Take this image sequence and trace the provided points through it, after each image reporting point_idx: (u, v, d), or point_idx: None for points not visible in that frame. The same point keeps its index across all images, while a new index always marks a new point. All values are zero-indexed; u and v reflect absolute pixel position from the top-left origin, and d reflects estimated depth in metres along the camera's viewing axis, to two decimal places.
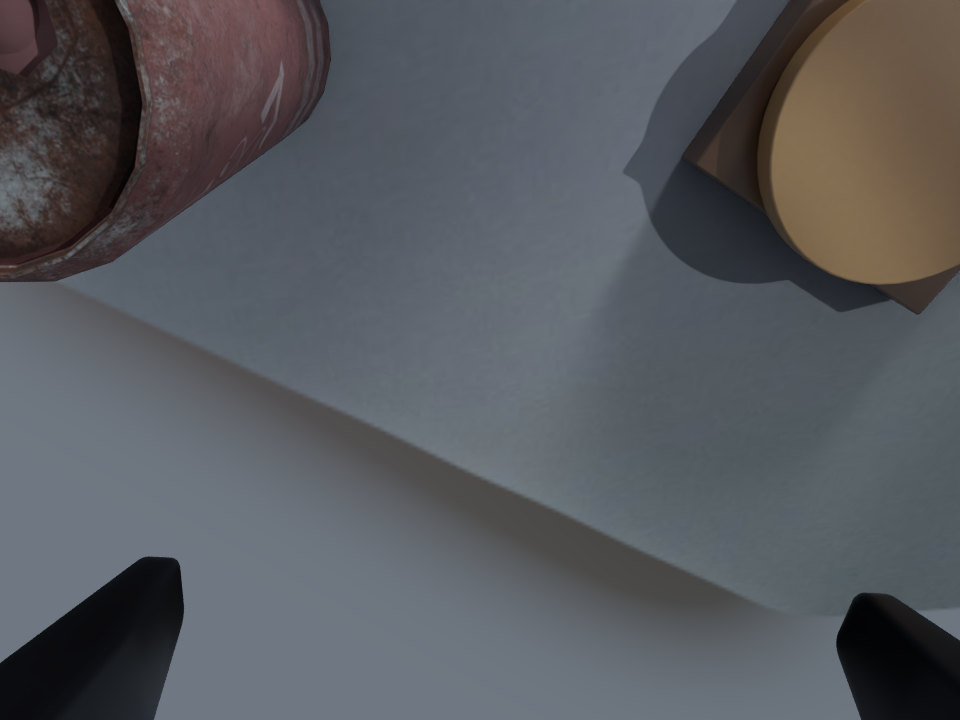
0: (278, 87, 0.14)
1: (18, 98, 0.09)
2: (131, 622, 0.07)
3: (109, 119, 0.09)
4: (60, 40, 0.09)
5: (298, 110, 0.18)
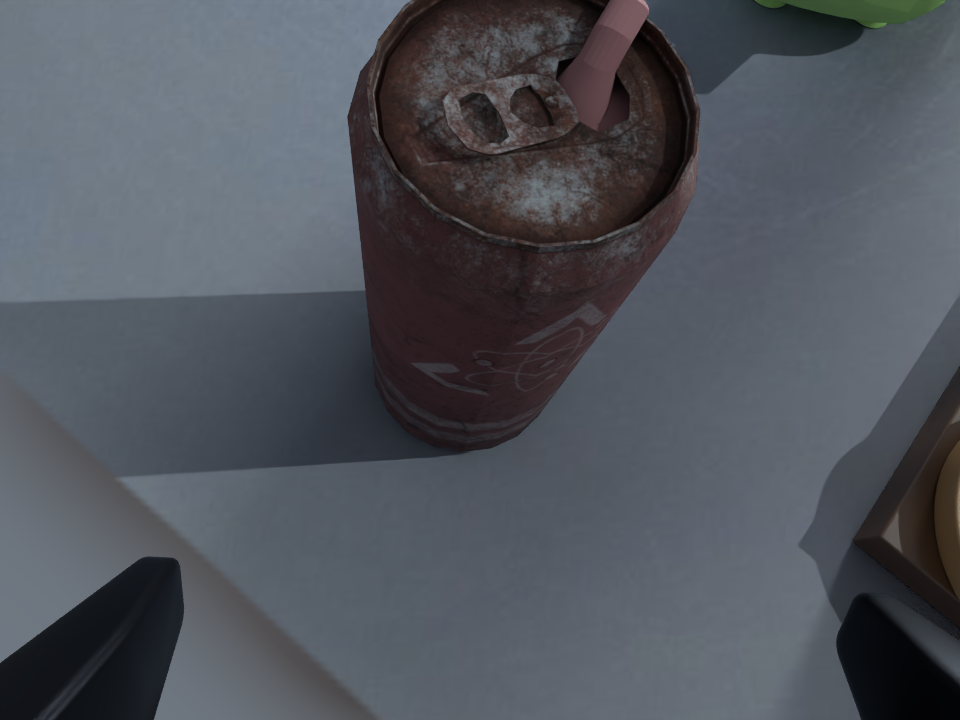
0: None
1: (587, 141, 0.12)
2: (131, 623, 0.07)
3: (650, 167, 0.11)
4: (631, 116, 0.12)
5: (557, 388, 0.20)
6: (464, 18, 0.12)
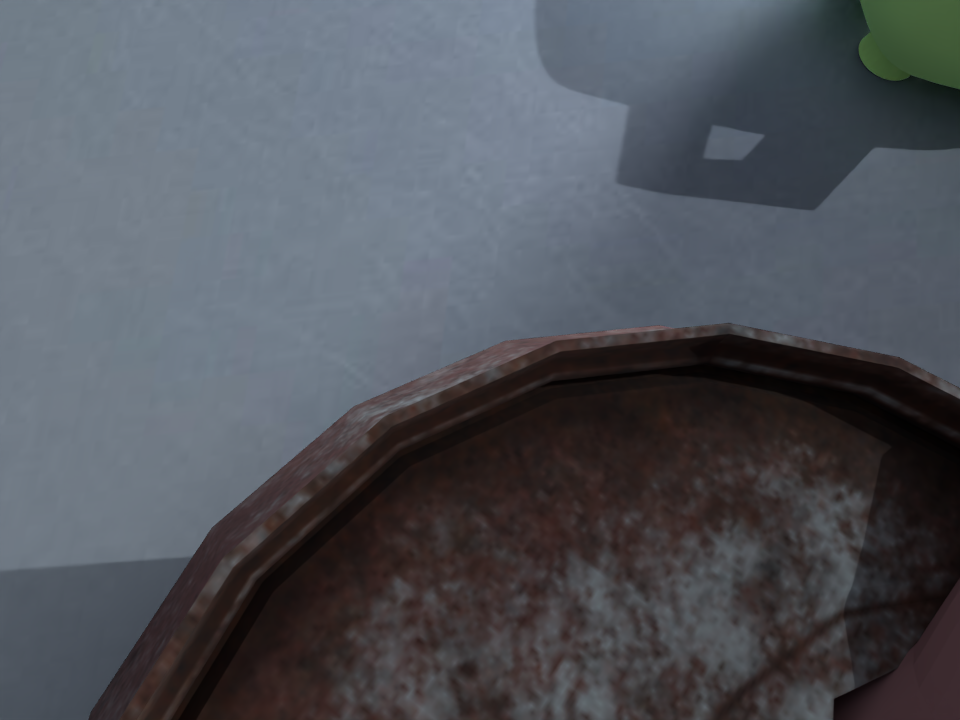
0: None
1: None
2: None
3: None
4: None
5: None
6: (473, 528, 0.03)
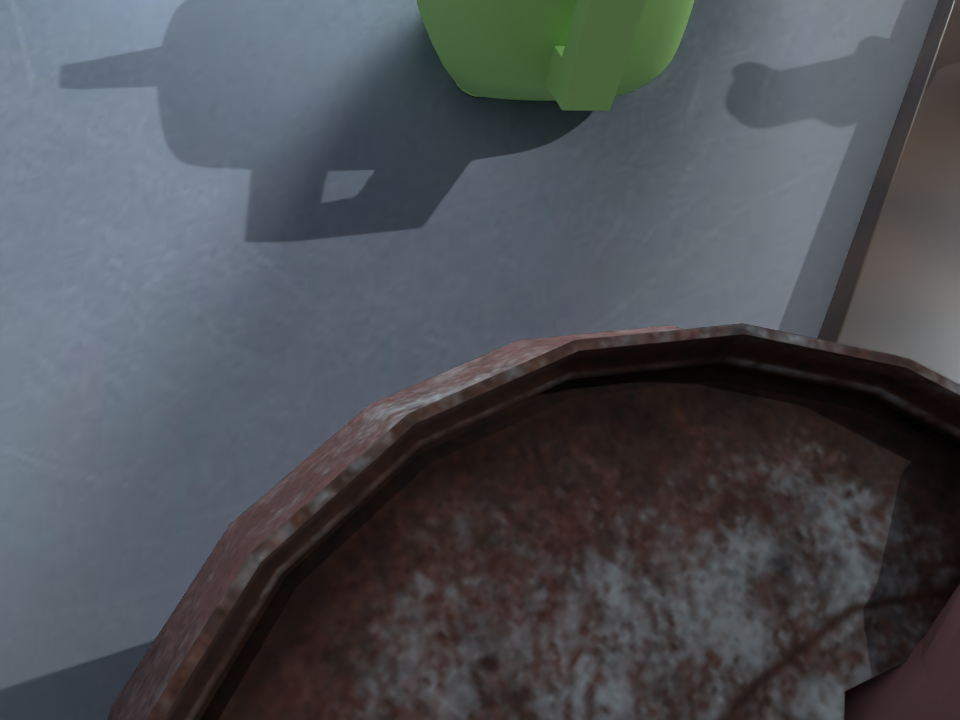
0: None
1: None
2: None
3: None
4: None
5: None
6: (492, 523, 0.03)
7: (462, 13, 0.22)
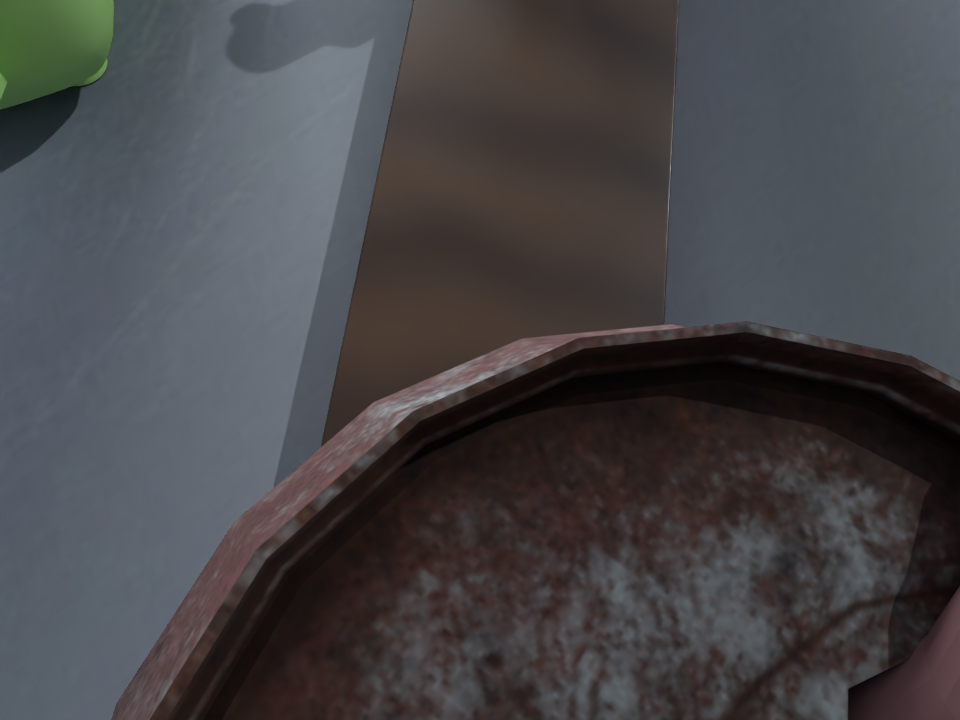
0: None
1: None
2: None
3: None
4: None
5: None
6: (497, 523, 0.03)
7: None
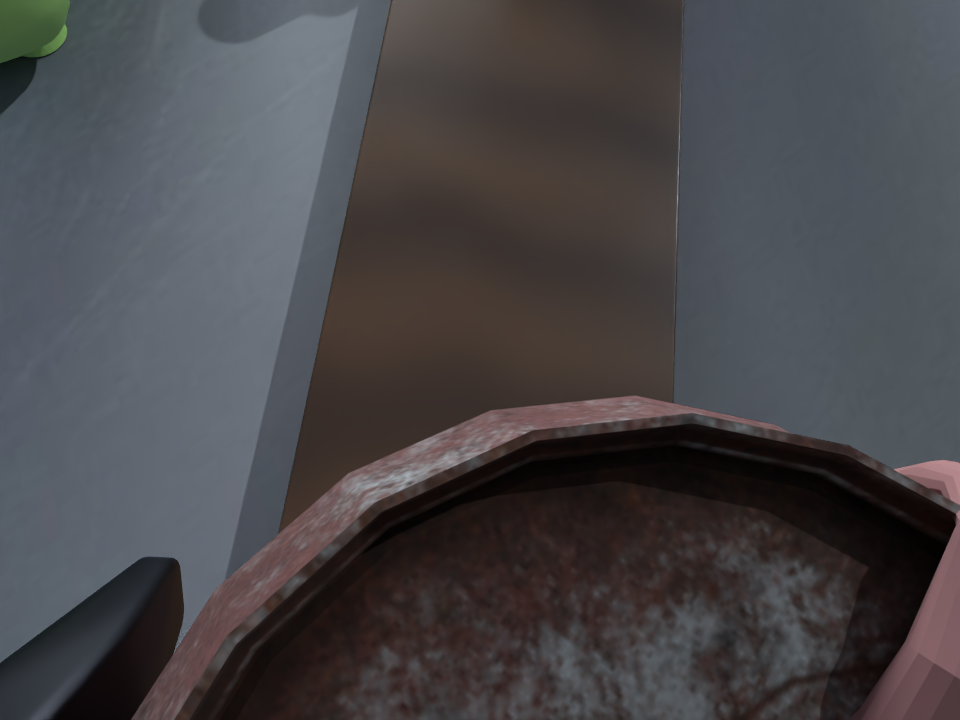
0: None
1: None
2: (131, 622, 0.07)
3: None
4: None
5: None
6: (455, 602, 0.04)
7: None
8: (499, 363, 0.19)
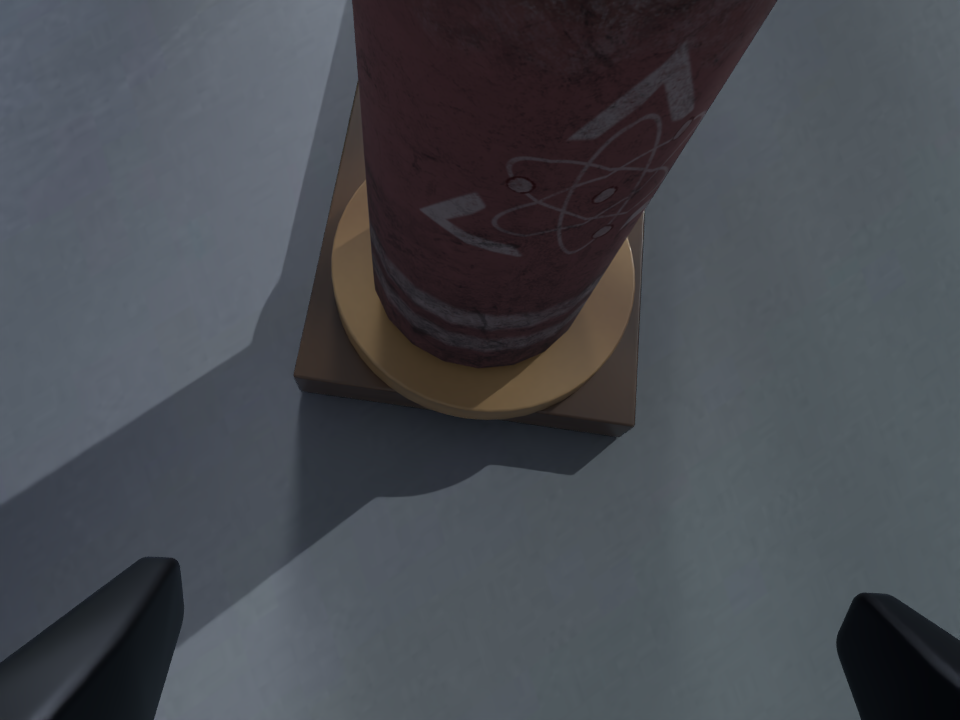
0: None
1: None
2: (131, 622, 0.07)
3: None
4: None
5: (599, 277, 0.16)
6: None
7: None
8: None
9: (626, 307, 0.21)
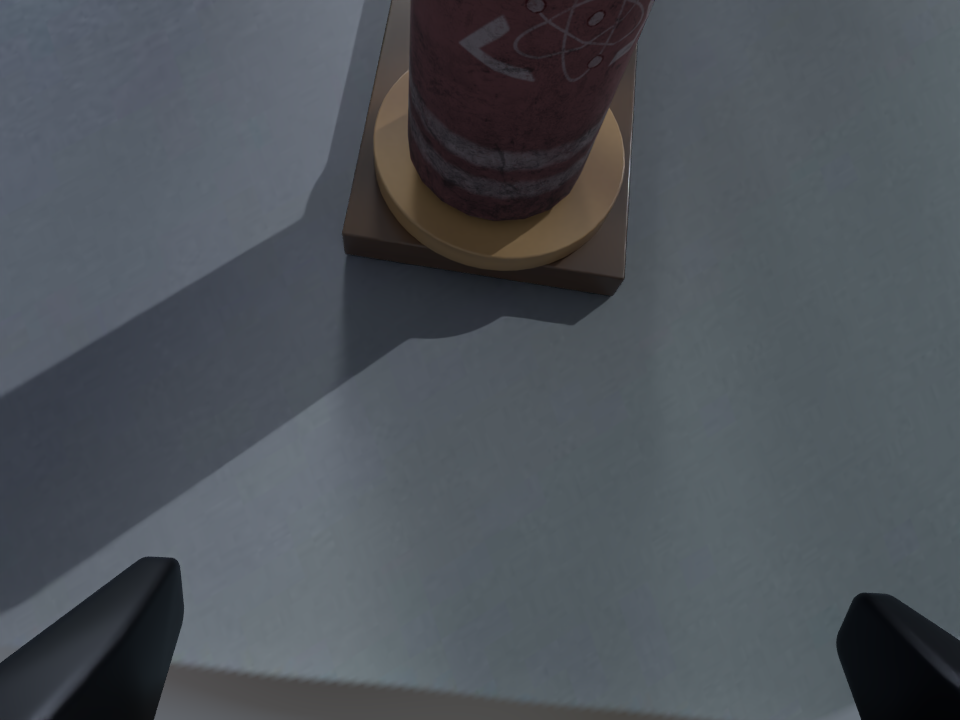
0: (646, 17, 0.17)
1: None
2: (131, 622, 0.07)
3: None
4: None
5: (594, 127, 0.20)
6: None
7: None
8: None
9: (617, 181, 0.25)
